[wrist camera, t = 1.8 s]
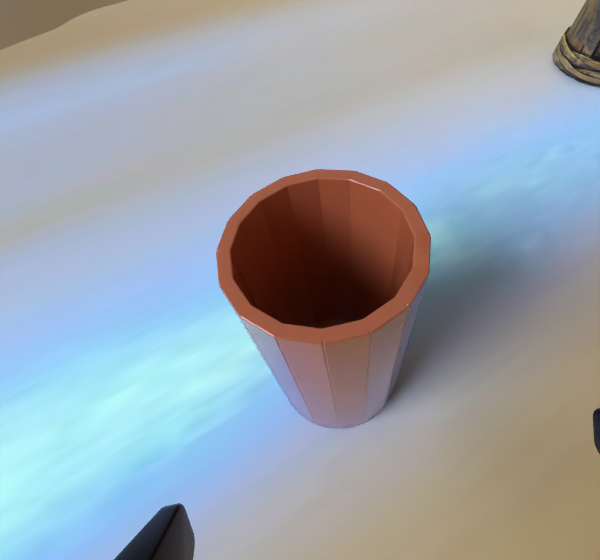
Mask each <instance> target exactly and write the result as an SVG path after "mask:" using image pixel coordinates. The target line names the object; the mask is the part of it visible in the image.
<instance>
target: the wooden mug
mask: <svg viewBox="0 0 600 560" xmlns="http://www.w3.org/2000/svg"><path fill="white" fill-rule="evenodd" d="M553 62H554V63H555V64H556V65H557V66H558V68H559V69H560V70H561V71H562V72H564V73H565V74H566V75H568V76H570V77H572V78H574V79H576V80H578V81H579V82H582V83H586V84H589V85H593V86H599V87H600V0H587V1H586V2H585V4H584V6H583V7H582V9H581V11H580V13H579V14H578V16H577V18H576V19H575V21H574V23H573V25H572V26H570V27H568V29H567V30H566V32H565V33H564V35H563V36H562V38H561V40H560V42H559V44H558V45H557V47H556V49H555V51H554V53H553Z"/></svg>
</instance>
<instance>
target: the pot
mask: <svg viewBox="0 0 600 560" xmlns="http://www.w3.org/2000/svg"><path fill="white" fill-rule="evenodd" d="M430 248H431V237H430V234H429V232H428V230H427V227H426V225H425V223H424V221H423V219H422V217H421V215H420V213H419V211H418V209H417V207H416V206H415V205H414V203H412V202H411V201H410V200H409V199H408V198H406V197H405V196H404V195H403V194H401V193H400V192H399V191H398V190H397V189H395V188H394V187H393V186H392V185H390V184H389V183H387V182H385V181H382V180H379V179H377V178H374V177H371V176H368V175H365V174H362V173H359V172H357V171H347V170H324V169H319V170H317V169H316V170H312V171H308V172H303V173H299V174H295V175H291V176H286V177H283V178H281V179H279V180H277V181H275V182H274V183H272V184H270V185H268V186H266V187H265V188H263V189H261V190H259V191H257V192H256V193H254V194H252V196H250V197H249V198H248V199H247V200H246V201H245V202H244V203H243V205H242V206H241V207H240V208H239V209H238V210H237V211H236V212H235V213H234V214H233V215H232V216H231V218H230V219H229V221H228V222H227V224H226V227H225V230H224V232H223V235H222V237H221V240H220V243H219V245H218V248H217V252H216V257H217V269H218V280H219V285H220V288H221V290H222V291H223V293H224V295H225V296H226V298H227V300H228V301H229V303H230V305H231V306H232V308H233V310H234V311H235V313H236V315H237V316H238V318H239V320H240V321H241V323H242V324H243V326H244V328H245V329H246V331H247V333H248V334H249V336H250V338H251V339H252V341H253V343H254V344H255V346H256V348H257V349H258V351H259V353H260V354H261V356H262V357H263V359H264V361H265V362H266V364H267V366H268V367H269V369H270V371H271V372H272V374H273V376H274V377H275V379H276V381H277V382H278V384H279V386H280V387H281V389H282V390H283V392H284V394H285V395H286V397H287V398H288V400H289V402H290V403H291V405H292V406H293V408H295V410H297V411H298V412H299V413H300V414H301V415H302V416H303V417H305V418H306V419H308V420H309V421H311V422H313V423H315V424H318V425H320V426H324V427H328V428H349V427H353V426H357V425H360V424H362V423H364V422H366V421H368V420H369V419H371V418H372V417H374V416H375V415H376V414H377V413H378V412H379V411H380V410H381V409H382V408H383V407H384V405H385V404H386V402H387V401H388V399H389V397H390V395H391V392H392V390H393V388H394V386H395V383H396V380H397V377H398V373H399V370H400V367H401V364H402V360H403V357H404V354H405V351H406V347H407V344H408V341H409V337H410V334H411V331H412V328H413V324H414V321H415V318H416V315H417V311H418V308H419V305H420V301H421V298H422V295H423V292H424V288H425V285H426V282H427V279H428V275H429V272H430Z"/></svg>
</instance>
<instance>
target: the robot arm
mask: <svg viewBox="0 0 600 560" xmlns="http://www.w3.org/2000/svg"><path fill="white" fill-rule="evenodd" d="M593 428H594V443H595V446H596V448H597V451H598V452H599V454H600V408H599V409H596V410H595V411H594V413H593ZM194 546H195V540H194V533H193V530H192V527H191V524H190V522H189V519H188V516H187V513H186V510H185V508H184V506H183V505H182V504H180V503H178V504H173V505H169V506H165V507H163V508H161V509H160V510H159V511H158V512H157V513H156V515H155V516H154V517H153V518H152V519H151V520H150V521H149V522H148V523H147V524H146V525H145V527H144V528H143V529H142V530H141V531H140V532H139V533H138V534H137V535H136V536H135V537H134V538H133V540H132V541H131V542H130V543H129V544H128V545H127V546H126V547H125V548H124V549H123V550H122V551H121V553H120V554H119V555H118V556H117V557H116V558H115V559H114V560H193V555H194Z"/></svg>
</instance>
